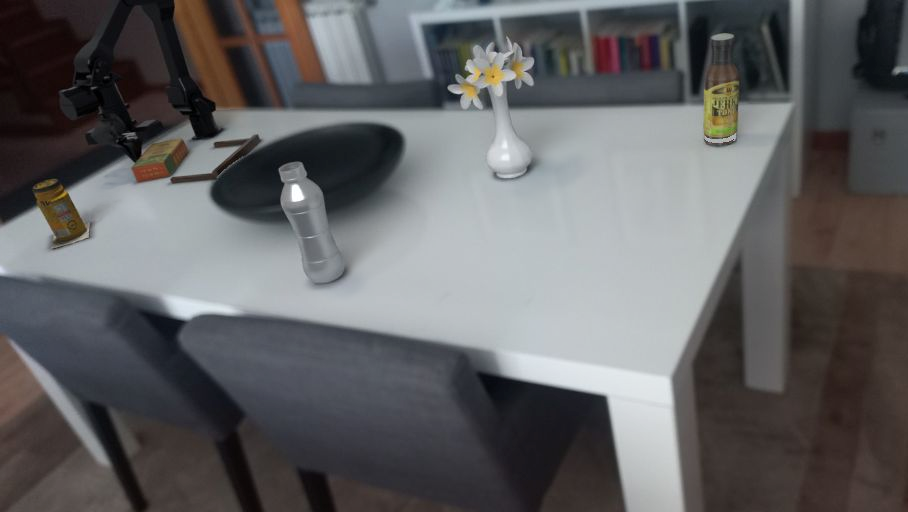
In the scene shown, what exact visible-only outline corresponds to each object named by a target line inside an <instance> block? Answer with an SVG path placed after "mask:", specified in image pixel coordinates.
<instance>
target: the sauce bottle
mask: <svg viewBox="0 0 908 512" xmlns="http://www.w3.org/2000/svg"><path fill="white" fill-rule="evenodd" d="M734 45H735V35H734V34H732V33H725V32H724V33H717V34H713V35H712V36H711V37H710V47H711V56H710V57H711V58H710V64H709V66H708V68H707V69H706V71H705V74H704V87H703V121H702V122H703V125H702V126H703V127H702V129H703V131H702V132H703V136H704V135H705V136H706V137H707V138H710V139H723V138H728V137H730V136H732V135H734V134H735V133H736V134H737V132H738V122H739V97H740V96H739V94H740V93H739V92H740V81H739V79H740V78H739V76H740V74H739V71H738V67H736V64H735V63H734ZM733 140H734V139H733ZM733 140H731V141H729V142H723V143H712V142H708V141H706V140H705V139H704V138H703V141H704V142H705V144H707V145H710V146H715V147H716V146H717V147H724V146H729V145H730V144H733V143H735V142H736V141H733Z"/></svg>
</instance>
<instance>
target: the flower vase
mask: <svg viewBox="0 0 908 512" xmlns="http://www.w3.org/2000/svg"><path fill="white" fill-rule="evenodd" d="M505 37H506V42H507V46H508V50H509V51H507V52H505V53H503V52H496V51H494V50H495V42H494V41H492V42H490V43H489V44H488V46H487V47H486V49H485V51H484V49H483V48H482V47H481V46H480V45H479V44H475V45H474V46H473V48H472V52H473V56H474V58H473V59H467V61H466V65H465V66H464V71H466V72H469V73H471V74H470V75H468V76H467V77H466V78H464V77H463V76H462V75H461V74H459V73H456V74H455V76H454V77H455V81H456V82H457V83H458V84H449V85H448V86H447V90H448V91H449V92H450V93H452V94H456V95H461V97H460V107H461V108H462V109H463V110H467V109H469V107H470V106H471V103H473V105H474V106H475V107H476V108H477V109H479V110H483V109H484V106H483V103H482V101H481V99H480V96H479V94H480V92H481V90H482V89H485V88H487V91H488V95H489V97H490V101H491V105H492V106H491V107H492V113H493V119H494V135H493V136H494V137H493V141H492V143H491V144H490V146H488V148H487V151H486V153H485V163H486V166H487V167H488V168H489V169H490V170H491V171H493V172H495V174H496V176H497V177H498V178H501V179H515V178H518V177H521V176H523V175H524V174H525V173H527V171H528V166H529V165H530V163H532V160H533V158H534V157H533V156H534V152H533V149H532V147H531V146H530V145H529V143H528V142H527V141H526V140H524V139H523V138H521V137H520V136H519V134H518V133H517V131H516V129H515V127H514V124H513V121H512V117H511V112H510V107H509V103H508V102H509V101H508V94H507V93H508V91H507V90H508V88H507V87H508V86H507V83H508V82H510V81H514V85H515V88H516V89H517V90H520V89H521V87H522V86H523V85H522V82H524V83H525V84H526V85H528V86H530V87H533V86H534V85H535V81H534V79H533V77H532V75H531V74H530V73H529V72H527V71H529V70H530V69H532V68H533V66H534V64H535V59H534V57H532V56H528V57H526V56H523V51H522V48H521V46H520V45H519V44H518V43H517V42H514V43H513V44H512V42H511V39H510V38H509V37H508V36H507V35H506V36H505ZM505 66H507V68H508V69H507V68H505V69H503V68H504V67H505Z"/></svg>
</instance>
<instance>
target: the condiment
mask: <svg viewBox="0 0 908 512" xmlns="http://www.w3.org/2000/svg"><path fill="white" fill-rule="evenodd" d="M31 189H32V190H31V191H32V192H33V194H34V197H35V199H36V205H37V206H38V208H39V210H40V212H41V214H42V215H43V217H44V219H45V220H46V222H47V224H48V225H49V227H50V230H51V232H52V233H53V238H52V242H51V243H52V244H51V247H50V249H55V248H61V247H64V246H68V245H71V244H75V243H76V242H78V241H83V240H84V239H88V238H90V227H91V226H90V224H91V223H90V222H88V223H84V221H83V219H82V217H81V215H80V213H79V210H78V209H77V207H76V206H75V204H74V201H73V200H72V198H71V196H70V194H69V192H68V191H67V190H65V189H64V186H63V185H62V184H61V182H60V180H59V179H57V178H50V179H46V180H43V181H40V182H39V183H36V184H35V185H34V186H33V187H32V188H31Z"/></svg>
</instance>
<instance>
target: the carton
mask: <svg viewBox="0 0 908 512" xmlns="http://www.w3.org/2000/svg"><path fill="white" fill-rule="evenodd" d="M188 153H189V149H188V148H187V145H186V142H185V140H184V139H183V138H182V137H180V138H173V139H168V140H163V141H158V142H157V141H156V142H153V143H150V145H149V147H148V148H147V149H146V150H145V151H144V152H143V153H142V156H141V157H140V158H139V159H138V160H137V161H136V163H133V164H132V166H131V171H132V173H133V176H134V178H135V180H136V182H137V183H140V182H146V181H151V180H157V179H158V180H159V179H162V178H167V177H172V176H171V175H172V174H173V173H174V171H175V170H176V169H177V168H178V166H179V164H180V163H182V161H183V160H184V158H185V156H187V154H188Z"/></svg>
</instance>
